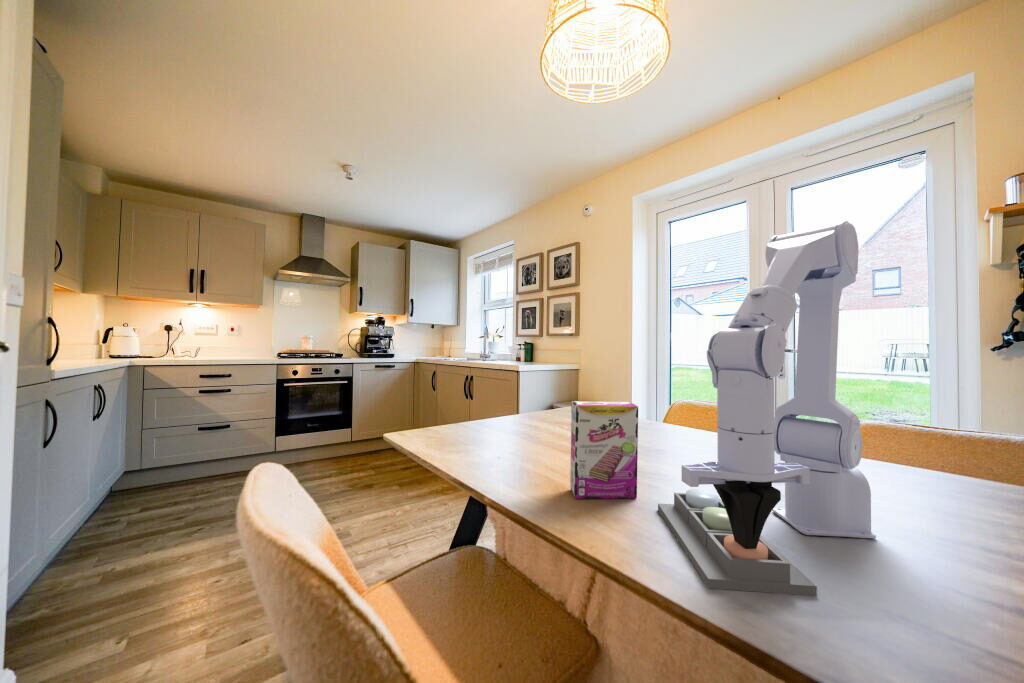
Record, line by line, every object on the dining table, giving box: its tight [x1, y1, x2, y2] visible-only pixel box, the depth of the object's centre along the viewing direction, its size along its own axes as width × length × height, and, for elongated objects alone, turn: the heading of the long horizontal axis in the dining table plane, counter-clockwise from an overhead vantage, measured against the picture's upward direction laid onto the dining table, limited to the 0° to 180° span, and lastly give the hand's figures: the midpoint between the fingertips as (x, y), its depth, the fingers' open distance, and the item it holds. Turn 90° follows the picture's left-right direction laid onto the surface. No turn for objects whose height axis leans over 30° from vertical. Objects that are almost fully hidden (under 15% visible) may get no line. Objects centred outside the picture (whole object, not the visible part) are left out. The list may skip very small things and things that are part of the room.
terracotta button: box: [724, 535, 768, 560], centre depth 44 cm, size 4×4×2 cm
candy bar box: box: [569, 400, 639, 499], centre depth 68 cm, size 11×5×16 cm, turn 92°
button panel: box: [657, 492, 818, 596], centre depth 51 cm, size 11×20×3 cm, turn 174°
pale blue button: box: [685, 489, 719, 509], centre depth 57 cm, size 4×4×2 cm
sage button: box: [703, 507, 732, 531], centre depth 51 cm, size 4×4×2 cm
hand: (745, 545), depth 44 cm, fingers closed, pressing on terracotta button
